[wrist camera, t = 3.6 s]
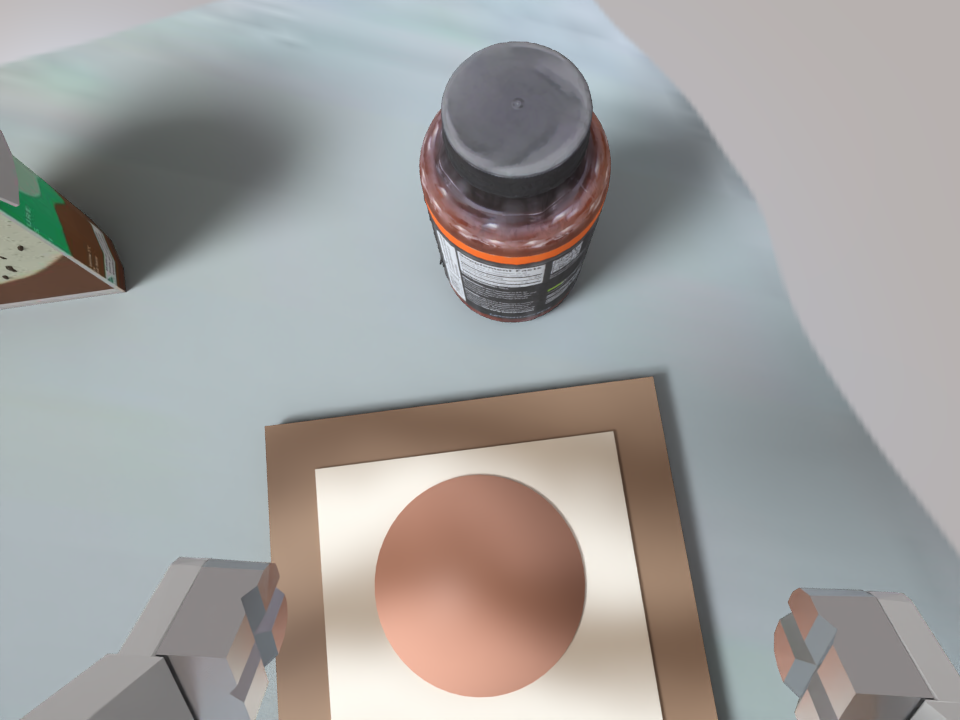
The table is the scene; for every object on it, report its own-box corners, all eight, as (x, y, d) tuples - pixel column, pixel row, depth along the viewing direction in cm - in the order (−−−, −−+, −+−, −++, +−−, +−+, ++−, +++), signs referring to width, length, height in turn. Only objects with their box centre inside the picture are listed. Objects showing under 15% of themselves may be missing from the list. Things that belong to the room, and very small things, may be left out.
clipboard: (740, 872, 21) (758, 900, 20) (297, 926, 22) (281, 958, 20) (648, 379, 25) (657, 373, 24) (272, 428, 25) (257, 424, 24)
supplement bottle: (476, 181, 27) (460, -26, 16) (599, 228, 27) (668, 45, 16) (421, 296, 26) (365, 157, 15) (547, 348, 26) (583, 242, 15)
